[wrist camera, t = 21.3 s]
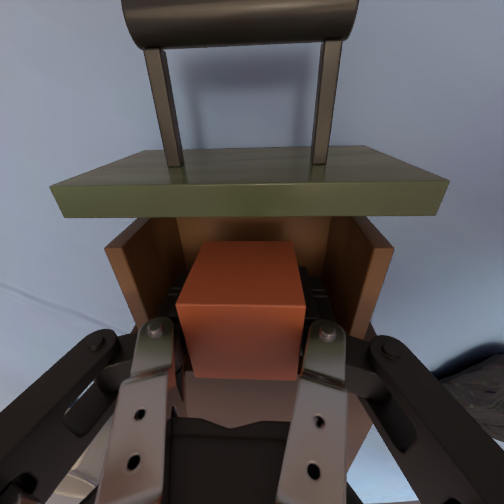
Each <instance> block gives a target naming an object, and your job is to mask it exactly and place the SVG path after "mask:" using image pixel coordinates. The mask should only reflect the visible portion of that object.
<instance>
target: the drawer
mask: <svg viewBox="0 0 504 504" xmlns="http://www.w3.org/2000/svg"><path fill="white" fill-rule="evenodd" d="M121 3H122V10H123V14H124V18H125V22H126V25H127V28H128V30H129V33H130V35H131V37H132V39H133V41H134V43H135V44H136V46H137V47H138V48H139V49H141V50H143V51H144V56H145V61H146V66H147V71H148V75H149V80H150V85H151V90H152V94H153V99H154V104H155V109H156V114H157V118H158V123H159V128H160V133H161V137H162V142H163V147H164V150H144V151H141V152H139V153H136V154H133V155H131V156H128V157H125V158H123V159H120V160H117V161H115V162H112V163H109V164H107V165H104V166H101V167H99V168H96V169H93V170H91V171H88V172H86V173H83V174H80V175H78V176H75V177H72V178H70V179H67V180H64V181H62V182H59V183H56V184H54V185H51V186H50V190H51V192H52V194H53V196H54V198H55V200H56V202H57V204H58V206H59V208H60V210H61V212H62V214H63V216H64V218H137V219H136V220H135V221H134V222H133V223H132V224H131V225H129V226H128V227H127V228H126V229H125V230H124V231H123V232H122V233H120V234H119V235H118V236H117V237H116V238H115V239H114V240H113V241H111V242H110V243H109V244H108V245H107V246H106V247H105V248H104V250H105V252H106V255H107V257H108V259H109V262H110V264H111V266H112V269H113V271H114V274H115V276H116V278H117V281H118V283H119V285H120V288H121V290H122V293H123V295H124V297H125V300H126V302H127V304H128V307H129V309H130V312H131V314H132V316H133V319H134V321H135V323H136V326H137V328H138V331H139V329H140V327H141V326H142V325H143V324H144V323H145V322H147V321H148V320H150V319H152V318H155V317H156V315H157V313H158V311H159V309H160V307H161V306H162V304H163V302H164V300H165V298H166V296H167V295H168V292H169V290H170V289H171V286H172V284H173V282H174V280H176V279H177V278H178V277H179V276H180V275H181V274H187V273H188V271H189V269H190V267H191V265H193V264H194V262H195V260H196V257H197V255H198V253H199V251H200V248H201V246H202V244H203V242H204V241H293V244H294V249H295V254H296V259H297V264H298V266H306V267H307V271H308V275H309V276H318V278H319V279H320V280H321V281H322V282H323V284H324V287H325V291H326V293H327V297H328V299H329V302H330V305H331V308H332V311H333V314H334V317H335V320H336V323H337V324H339V325H340V326H341V327H342V328H343V329H344V331H345V333H347V334H349V335H351V336H353V337H356V338H359V339H363V340H364V337H365V334H366V331H367V328H368V325H369V322H370V320H371V317H372V314H373V311H374V308H375V305H376V302H377V299H378V296H379V293H380V290H381V287H382V284H383V282H384V279H385V276H386V273H387V270H388V267H389V264H390V261H391V258H392V255H393V252H394V247H393V246H392V245H391V244H390V243H389V242H388V240H387V239H386V238H385V237H384V236H383V235H382V234H381V233H380V232H379V230H378V229H377V228H376V227H375V226H374V225H373V224H372V223H371V222H370V220H369V219H368V218H367V217H366V216H435V215H436V214H437V212H438V209H439V207H440V204H441V202H442V199H443V197H444V195H445V192H446V190H447V187H448V185H449V183H450V181H449V180H447V179H445V178H443V177H440V176H438V175H435V174H433V173H430V172H428V171H426V170H423V169H421V168H418V167H416V166H413V165H411V164H408V163H406V162H404V161H401V160H399V159H396V158H394V157H391V156H389V155H387V154H384V153H382V152H379V151H377V150H374V149H372V148H370V147H367V146H365V145H361V146H329V141H330V133H331V126H332V118H333V111H334V103H335V96H336V88H337V81H338V73H339V66H340V58H341V51H342V43H343V42H342V41H345V40H347V39H348V37H349V35H350V33H351V31H352V28H353V25H354V22H355V18H356V14H357V9H358V4H359V0H121ZM313 42H323V43H322V45H321V51H320V61H319V71H318V82H317V92H316V102H315V113H314V123H313V133H312V144H311V147H273V148H229V149H186V150H182V145H181V139H180V134H179V128H178V122H177V116H176V110H175V104H174V99H173V93H172V87H171V81H170V75H169V69H168V64H167V58H166V53H165V51H163V50H164V49H185V48H207V47H228V46H249V45H270V44H291V43H313ZM186 356H189V353H188V352H187V354H186ZM299 359H303V356H300V357H299Z"/></svg>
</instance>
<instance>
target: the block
mask: <svg viewBox="0 0 504 504" xmlns="http://www.w3.org/2000/svg"><path fill="white" fill-rule="evenodd" d="M176 309H177V312H178V316H179V320H180V323H181V327H182V331H183V334H184V338H185V342H186V346H187V349H188V353H189V357H190V360H191V364H192V368H193V371H194V375H195V377H196V378H225V379H257V380H288V381H295V380H296V379H297V372H298V365H299V357H300V350H301V342H302V334H303V327H304V319H305V311H306V303H305V298H304V293H303V288H302V284H301V279H300V274H299V269H298V264H297V259H296V254H295V249H294V244H293V241H204V242H203V244H202V246H201V248H200V251H199V253H198V255H197V257H196V260H195V262H194V264H193V266H192V268H191V271H190V273H189V275H188V277H187V280H186V282H185V284H184V286H183V288H182V291H181V293H180V295H179V297H178V300H177V302H176Z"/></svg>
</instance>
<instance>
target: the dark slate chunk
mask: <svg viewBox="0 0 504 504" xmlns="http://www.w3.org/2000/svg"><path fill="white" fill-rule="evenodd" d="M438 381H439V382H440V383H441V384H442V385H443V386H444V387H445V388H446V389H447V390H448V391H449V393H450V394H451V395H452V396H453V397H454V398H455V399H456V400H457V401H458V402H459V403H460V404H461V405H462V406H463V408H464V409H465V410H466V411H467V412H468V413H469V414H470V415H471V416H472V417H473V418H474V419H475V420H476V422H477V423H478V424H479V425H480V426H481V427H482V428H483V429H484V430H485V431H486V432H487V433H488V434H489V435H490V437H491V438H494V439H496V440H499V441H502V442H504V354H496V355H493V356H491V357H490V358H488V359H486V360H485V361H483V362H480V363H477V364H475V365H474V366H472V367H470V368H468V369H465V370H463V371H461V372H459V373H457V374H455V375H452V376H449V377H446V378H443V379H441V380H438Z"/></svg>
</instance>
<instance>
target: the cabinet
mask: <svg viewBox="0 0 504 504" xmlns="http://www.w3.org/2000/svg"><path fill="white" fill-rule="evenodd" d="M137 331H138V328H137V326H136V325H135V327H134V328H133V330H132V332H131V333H134V332H137ZM375 336H377V335H376V333H375V331H374V329H373V327H372V325H371V322H369V325H368V328H367V331H366V334H365V337H364V340H366V341H371V339H372V338H373V337H375ZM184 362H185V373H186V409H187V416H188V418H202V419H205V420H207V421H210V422H213V423H216V424H218V425H221V426H224V427H226V428H236V427H239V426H243V425H247V424H251V423H255V422H258V421H288V422H291V418H292V413H293V407H294V402H295V397H296V392H297V387H298V382H299V377H300V372H301V369H302V364H303V359H299V365H298V372H297V379H296V380H295V381H288V380H257V379H225V378H196V377H195V375H194V371H193V368H192V364H191V360H190V357H189V356H186V357H185V361H184ZM372 424H373V422H372V421H371V419H370V417H369V416H368V414H367V412H366V411H365V409H364V407H363V406H362V404H361V402H360V401H359V399H358V397H357V395H356V394H353V393H350V392H348V421H347V472H348V470H349V468H350V466H351V464H352V462H353V460H354V459H355V457H356V455H357V453H358V451H359V449H360V447H361V445H362V443H363V441H364V440H365V438H366V436H367V434H368V432H369V430H370V428H371V426H372Z"/></svg>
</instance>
